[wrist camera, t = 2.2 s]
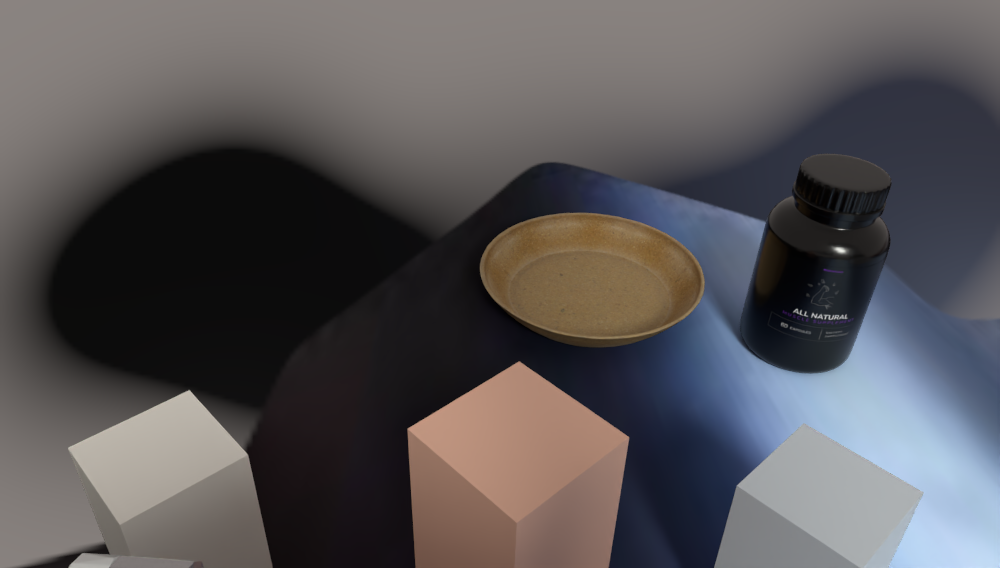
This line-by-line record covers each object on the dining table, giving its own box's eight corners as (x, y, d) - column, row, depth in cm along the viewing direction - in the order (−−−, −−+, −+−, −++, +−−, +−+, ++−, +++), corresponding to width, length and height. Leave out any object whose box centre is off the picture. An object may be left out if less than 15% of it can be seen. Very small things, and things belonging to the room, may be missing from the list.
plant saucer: (657, 401, 46) (664, 366, 45) (438, 324, 52) (438, 291, 50) (723, 276, 57) (729, 245, 56) (536, 224, 63) (538, 194, 61)
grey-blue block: (763, 546, 38) (803, 423, 33) (865, 616, 35) (923, 492, 30) (702, 610, 35) (736, 485, 31) (806, 693, 32) (861, 569, 28)
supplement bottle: (792, 391, 47) (846, 211, 40) (715, 326, 52) (753, 157, 45) (875, 358, 50) (939, 184, 43) (794, 300, 55) (841, 136, 48)
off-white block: (221, 514, 39) (189, 390, 34) (275, 580, 36) (248, 454, 31) (118, 574, 36) (67, 447, 31) (167, 652, 33) (119, 524, 28)
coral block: (508, 585, 36) (519, 361, 28) (592, 664, 33) (629, 437, 26) (420, 657, 33) (407, 428, 26) (504, 750, 30) (516, 523, 23)
